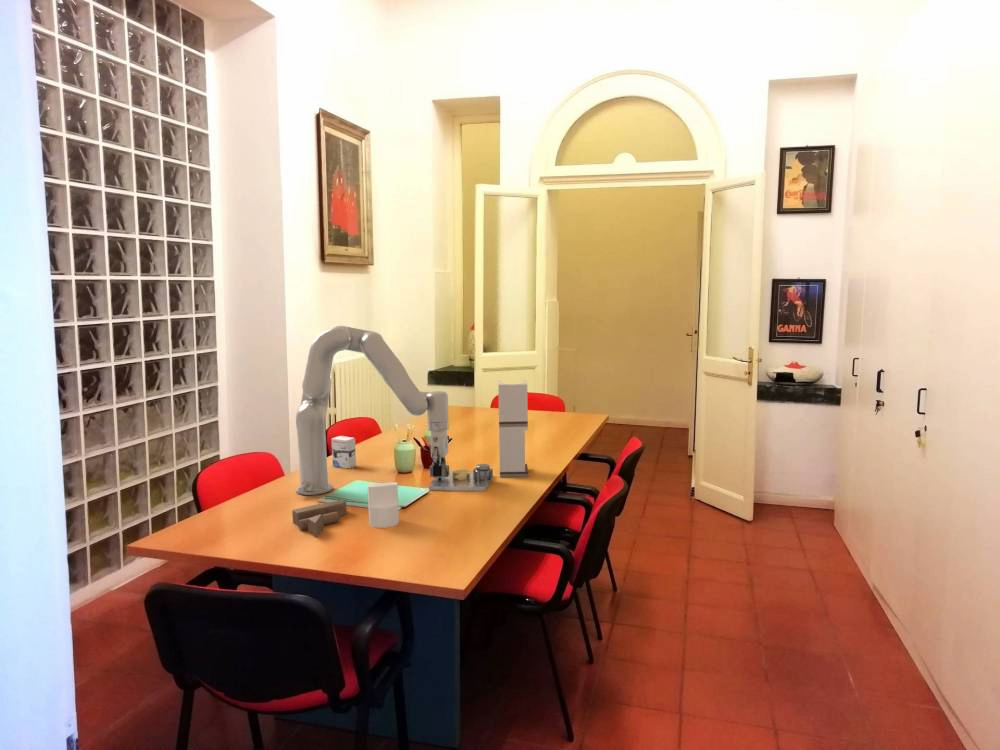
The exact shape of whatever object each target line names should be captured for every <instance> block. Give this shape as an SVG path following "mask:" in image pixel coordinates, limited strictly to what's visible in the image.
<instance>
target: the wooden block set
mask: <svg viewBox="0 0 1000 750" xmlns="http://www.w3.org/2000/svg"><path fill="white" fill-rule="evenodd" d="M291 512H292V524H294V525H295V526H297V527H298V529H299V531H301V530H303V531H307V532H309V534H310V535H312V537H315V538H317V537H318V536H319V535H320V534H321V533H322V532H323V531H324V526H327V525H331V524H336V523H338V522H340V519H341V517H344V515H345V514H346V513H348V512H347V501H346V500H344V499H340V500H339V499H338V500H335V501H330V502H325V503H322V504H321V503H317V504H313V505H309V506H308V505H307V506H304V507H299V508H296V509H295V508H294V509H292V511H291Z"/></svg>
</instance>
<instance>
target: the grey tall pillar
mask: <svg viewBox="0 0 1000 750" xmlns="http://www.w3.org/2000/svg"><path fill="white" fill-rule="evenodd" d="M497 384H498V385H497V386H498V387H497V388H498V389H497V390H498V434H499V435H498V436H499V437H498V439H499V440H498V441H499V444H498V445H499V449H498V451H499V452H498V453H499V477H500V478H529V469H528V468H529V466H528V463H526V431H529V427H528V426H529V425H528V424H529V422H528V421H529V418H528V417H529V416H528V415H529V413H528V412H529V409H528V408H529V407H528V400H529V399H528V383H527V380H526V379H523V383H522V382H521V383H512V384H511V383H509V384H508V383H502V382H501V380H498V381H497Z"/></svg>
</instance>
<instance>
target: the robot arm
mask: <svg viewBox="0 0 1000 750" xmlns="http://www.w3.org/2000/svg"><path fill="white" fill-rule="evenodd" d="M341 351H343V352H344V351H350V352H355V353H361V354H363V355H364V356H365V357H366V359H367V360H368V361H369V363H371V366H373V368H375V370H376V372H377V373H378V374H379V375H380V377H381V378H382V380H383V381H384V382H385V384H386V385H387V386H388V387H389V388H390V390H391V391H392V392H393V394H394V395H395V396H396V397H397V398H398V401H400V403H401V404H402V405H403V406H404V408H405V410H406V411H408V413H410V414H411V415H412V416H417V417H418V416H422V415H424V414H425V413H426V411H427V430H428V431H429V432H430V456H431V458H432V463H433V476H438V477H441V476H442V465H441V461H445V462H446V463H447V461H446V456H447V455H448V453H449V439H448V430H449V429H450V427H449V425H450V424H449V423H450V422H449V396H448V395H449V394H448V392H446V391H439V390H437V391H436V390H435V391H420V389H419V388H418V387H417V386H416V384H415V383H414V381H412V379H411V378H410V376H409V374H408V372H407V369H406V368H405V366H404V365H403V363H402V362H401V361H400V360H399V358H398V357H397V356H396V354H395V353H394V352H393V350H392V349H391V348H390V346H389V345H388V344H387V342H386V341H385V340H384V338H383V336H382V335H381V334H380V333H379V332H376V331H373V330H372V331H371V330H366V329H362V328H356V327H350V326H346V325H345V326H344V325H337V326H335V327H333V328H330V329H327V330H325V331H323V332H321V333H319V334H318V335H317V336H316V337H315V338H314V339H313V341H312V343H311V345H310V346H309V351H308V354H307V355H308V356H307V361H306V365H305V366H306V367H305V371H304V377H303V379H302V387H301V388H302V395H301V401H300V406H299V408H298V410H297V412H296V416H295V426H296V433H297V434H296V435H297V447H298V448H297V449H298V464H299V483H300V485H298V486H297V487H296V489H295V490H296V491H295V492H296V493H297V494H298V495H303V496H317V495H322V494H326V493H329V492H331V491H332V490H333V488H334V486H333V484H331V483H330V482H329V479H328V478H329V477H328V457H327V455H328V454H327V453H328V452H327V440H326V439H327V438H326V436H327V435H326V425H325V424H326V421H325V419H326V417H327V412H328V407H329V406H328V405H329V400H330V394H331V388H332V380H331V371H332V367H333V362H334V357H335V356H336V354H337V353H339V352H341Z"/></svg>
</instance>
